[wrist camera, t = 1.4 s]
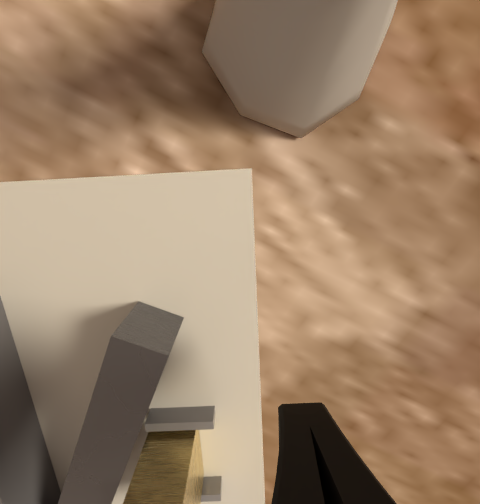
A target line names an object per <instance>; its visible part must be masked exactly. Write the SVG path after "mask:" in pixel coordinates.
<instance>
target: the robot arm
mask: <svg viewBox="0 0 480 504" xmlns="http://www.w3.org/2000/svg"><path fill="white" fill-rule="evenodd" d="M278 413H279V456H278V465H277V474H276V481H275V487H274V493H273V498H272V504H396V502H395V501H394V500H393V499H392V498H391V496H390V495H389V494H388V493H387V491H386V490H385V489H384V488H383V486H382V485H381V484H380V483H379V481H378V480H377V479H376V478H375V476H374V475H373V474H372V472H371V471H370V470H369V468H368V467H367V466H366V464H365V463H364V462H363V461H362V459H361V458H360V457H359V455H358V454H357V452H356V451H355V450H354V448H353V447H352V446H351V444H350V443H349V441H348V440H347V439H346V437H345V436H344V434H343V433H342V431H341V430H340V428H339V427H338V425H337V424H336V422H335V421H334V419H333V418H332V416H331V415H330V413H329V412H328V410H327V408H326V407H325V405H324V404H322V403H298V404H282V405H280V406H279V407H278Z"/></svg>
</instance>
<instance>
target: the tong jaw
mask: <svg viewBox="0 0 480 504" xmlns="http://www.w3.org/2000/svg"><path fill="white" fill-rule="evenodd" d="M183 319H184V317H181V316H179V315H176V314H173V313H170V312H167V311H165V310H162V309H159V308H156V307H153V306H151V305H148V304H145V303H142V302H139V301H138V303H137V304H136V305H135V306H134V308H133V309H132V310H131V312H130V313H129V314H128V315H127V317H126V318H125V319H124V320H123V322H122V323H121V324H120V325H119V327H118V328H117V329H116V330H115V332H114V333H113V334H112V335H111V337H110V340H109V344H108V347H107V350H106V353H105V356H104V359H103V363H102V366H101V369H100V372H99V375H98V378H97V382H96V385H95V388H94V391H93V394H92V397H91V401H90V404H89V407H88V410H87V413H86V416H85V420H84V423H83V426H82V429H81V432H80V435H79V439H78V442H77V445H76V448H75V451H74V454H73V458H72V461H71V464H70V467H69V470H68V473H67V476H66V480H65V483H64V486H63V489H62V492H61V495H60V499H59V502H58V504H112V501H113V499H114V496H115V494H116V491H117V489H118V486H119V483H120V481H121V478H122V476H123V473H124V471H125V468H126V465H127V463H128V460H129V458H130V455H131V453H132V450H133V447H134V445H135V442H136V440H137V437H138V435H139V432H140V429H141V427H142V424H143V422H144V419H145V417H146V414H147V411H148V409H149V406H150V404H151V401H152V399H153V396H154V393H155V391H156V388H157V386H158V383H159V381H160V378H161V375H162V373H163V370H164V368H165V365H166V363H167V360H168V357H169V355H170V352H171V350H172V347H173V345H174V342H175V339H176V337H177V334H178V332H179V329H180V326H181V324H182V321H183Z"/></svg>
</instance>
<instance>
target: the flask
mask: <svg viewBox="0 0 480 504" xmlns="http://www.w3.org/2000/svg"><path fill="white" fill-rule="evenodd" d="M397 1H398V0H216V1H215V5H214V8H213V12H212V16H211V19H210V23H209V27H208V30H207V34H206V38H205V42H204V45H203V49H202V53H203V55H204V56H205V58H206V60H207V61H208V63H209V65H210V66H211V68H212V70H213V71H214V73H215V75H216V76H217V78H218V79H219V81H220V83H221V84H222V86H223V88H224V89H225V91H226V93H227V94H228V96H229V97H230V99H231V101H232V102H233V104H234V106H235V107H236V109H237V111H238V112H239V114H240V115H241V116H244V117H247V118H249V119H252V120H254V121H257V122H260V123H262V124H265V125H267V126H270V127H273V128H275V129H278V130H280V131H283V132H285V133H288V134H291V135H293V136H296V137H298V138H302V137H304V136H305V135H307V134H308V133H310V132H311V131H313V130H314V129H315V128H317V127H318V126H320V125H321V124H323V123H324V122H326V121H327V120H329V119H330V118H331V117H333V116H334V115H336V114H337V113H339V112H340V111H342V110H343V109H345V108H346V107H347V106H349V105H350V104H352V103H353V102H355V101H356V100H358V99H359V97H360V94H361V92H362V90H363V87H364V85H365V83H366V80H367V78H368V75H369V73H370V71H371V68H372V66H373V64H374V61H375V59H376V56H377V54H378V52H379V49H380V47H381V45H382V42H383V40H384V37H385V35H386V33H387V30H388V28H389V26H390V23H391V20H392V17H393V14H394V11H395V8H396V4H397Z"/></svg>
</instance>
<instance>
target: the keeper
mask: <svg viewBox="0 0 480 504" xmlns="http://www.w3.org/2000/svg"><path fill="white" fill-rule="evenodd" d="M203 479H204V468H203V460H202V451H201V443H200V434H199V430H181V431H155V432H148V435H147V437H146V440H145V443H144V446H143V449H142V451H141V454H140V457H139V460H138V463H137V465H136V468H135V471H134V474H133V477H132V479H131V482H130V485H129V488H128V491H127V493H126V496H125V499H124V502H123V504H200V503H201V495H202V487H203Z"/></svg>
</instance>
